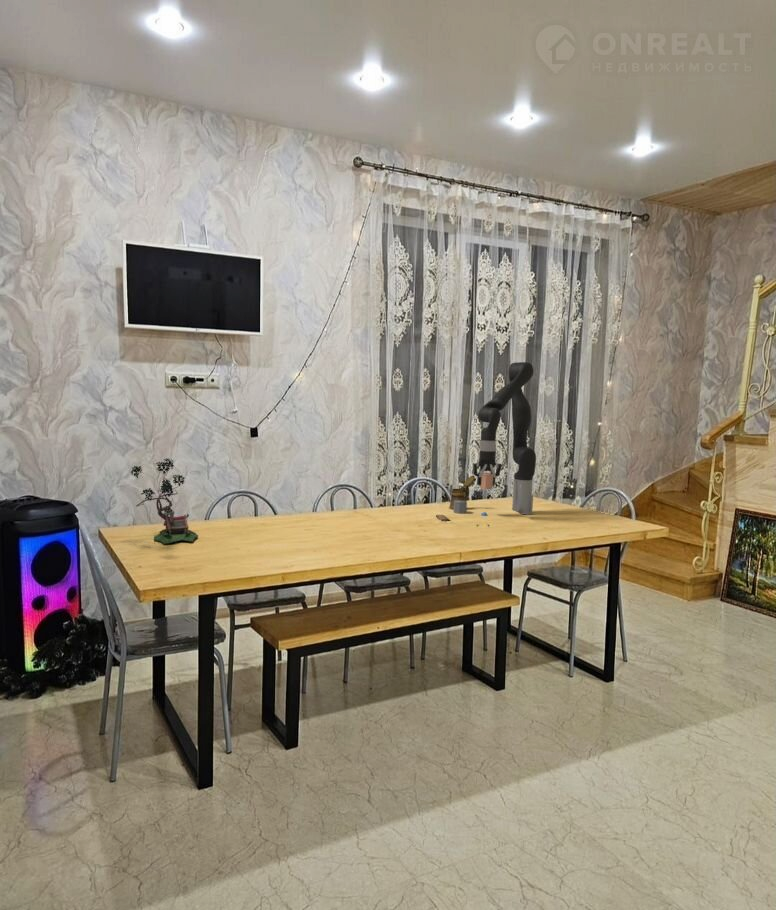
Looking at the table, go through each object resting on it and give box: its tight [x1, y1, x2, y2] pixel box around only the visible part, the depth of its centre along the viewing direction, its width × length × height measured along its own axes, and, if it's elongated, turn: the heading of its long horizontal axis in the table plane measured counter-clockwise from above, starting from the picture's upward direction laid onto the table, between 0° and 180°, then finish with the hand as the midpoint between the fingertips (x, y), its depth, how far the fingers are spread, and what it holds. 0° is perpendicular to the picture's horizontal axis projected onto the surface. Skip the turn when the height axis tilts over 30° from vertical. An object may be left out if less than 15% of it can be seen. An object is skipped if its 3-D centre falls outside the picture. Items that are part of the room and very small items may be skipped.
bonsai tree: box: [130, 457, 199, 546], centre depth 267 cm, size 35×24×32 cm
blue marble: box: [480, 511, 488, 517], centre depth 338 cm, size 3×3×3 cm
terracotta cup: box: [478, 472, 494, 490], centre depth 336 cm, size 6×6×7 cm
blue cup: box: [453, 500, 468, 515], centre depth 343 cm, size 6×6×7 cm
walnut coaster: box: [435, 514, 452, 522], centre depth 333 cm, size 10×10×1 cm
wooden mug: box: [448, 474, 475, 511], centre depth 354 cm, size 9×14×18 cm, turn 118°
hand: (486, 484), depth 336 cm, fingers closed on terracotta cup, 5 cm apart
